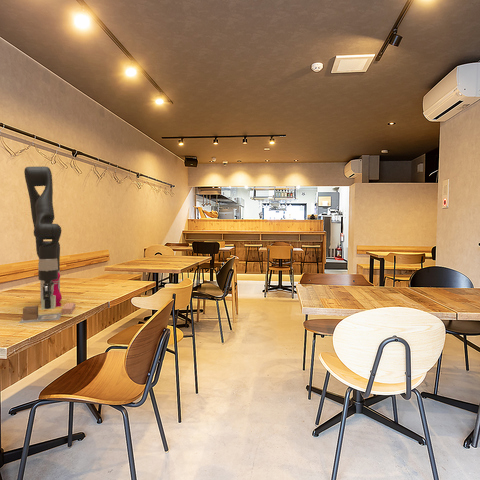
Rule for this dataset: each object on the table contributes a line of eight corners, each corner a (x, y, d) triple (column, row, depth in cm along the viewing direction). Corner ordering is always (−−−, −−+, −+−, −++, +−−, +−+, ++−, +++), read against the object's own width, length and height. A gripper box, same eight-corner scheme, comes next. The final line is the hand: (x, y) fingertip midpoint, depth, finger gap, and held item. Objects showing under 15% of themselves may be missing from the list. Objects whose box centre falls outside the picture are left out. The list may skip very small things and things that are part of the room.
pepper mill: (50, 305, 177) (49, 267, 176) (64, 305, 178) (63, 267, 177) (43, 308, 170) (42, 269, 169) (58, 308, 170) (57, 269, 169)
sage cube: (43, 307, 151) (42, 296, 151) (55, 306, 153) (55, 295, 153) (41, 309, 146) (41, 298, 146) (54, 308, 148) (54, 297, 148)
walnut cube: (25, 317, 149) (25, 306, 148) (38, 316, 151) (38, 305, 150) (23, 320, 144) (22, 309, 144) (36, 319, 146) (36, 308, 146)
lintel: (66, 311, 166) (66, 303, 166) (75, 310, 167) (75, 302, 167) (61, 317, 155) (61, 309, 155) (71, 317, 156) (71, 308, 156)
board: (24, 318, 152) (24, 315, 152) (62, 315, 157) (62, 312, 157) (18, 326, 140) (18, 323, 140) (59, 322, 146) (59, 319, 146)
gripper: (41, 267, 154) (41, 304, 155) (35, 271, 141) (36, 311, 142) (59, 266, 157) (60, 303, 158) (55, 270, 144) (56, 310, 144)
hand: (48, 306), depth 150 cm, fingers closed on sage cube, 5 cm apart
